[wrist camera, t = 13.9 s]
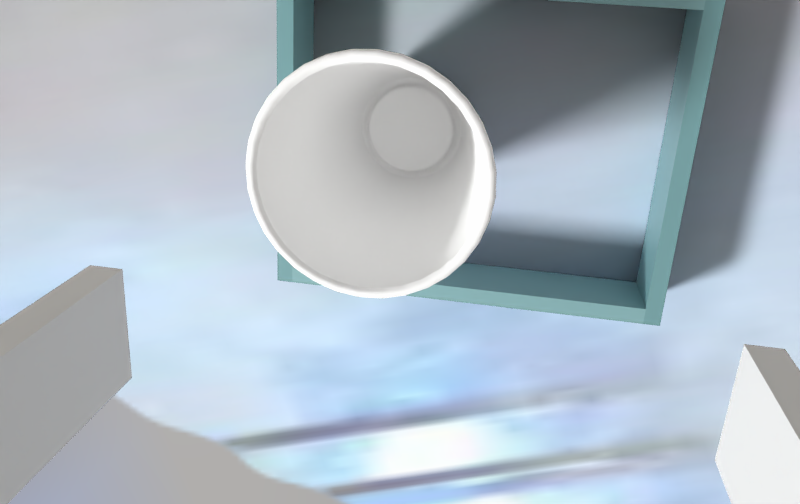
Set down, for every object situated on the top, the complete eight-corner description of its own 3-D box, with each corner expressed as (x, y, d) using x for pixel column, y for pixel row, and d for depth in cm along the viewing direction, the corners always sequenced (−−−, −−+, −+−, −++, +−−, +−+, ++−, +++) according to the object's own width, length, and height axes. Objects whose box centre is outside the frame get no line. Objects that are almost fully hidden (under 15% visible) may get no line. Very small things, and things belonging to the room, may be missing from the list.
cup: (501, 19, 36) (487, 35, 26) (512, 213, 39) (504, 296, 29) (307, 39, 38) (223, 61, 28) (333, 223, 41) (266, 303, 31)
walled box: (298, -35, 37) (276, -36, 33) (708, -10, 34) (727, -9, 31) (296, 257, 42) (277, 280, 39) (649, 297, 40) (659, 325, 36)
